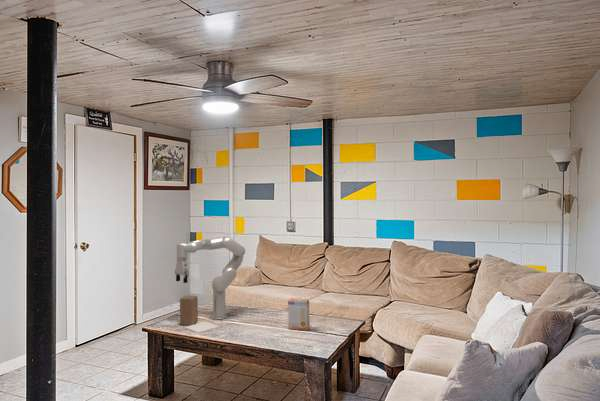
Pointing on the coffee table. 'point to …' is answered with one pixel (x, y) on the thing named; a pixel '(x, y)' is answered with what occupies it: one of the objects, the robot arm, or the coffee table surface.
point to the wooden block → (188, 310)
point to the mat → (202, 327)
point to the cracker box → (298, 314)
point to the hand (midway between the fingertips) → (181, 282)
